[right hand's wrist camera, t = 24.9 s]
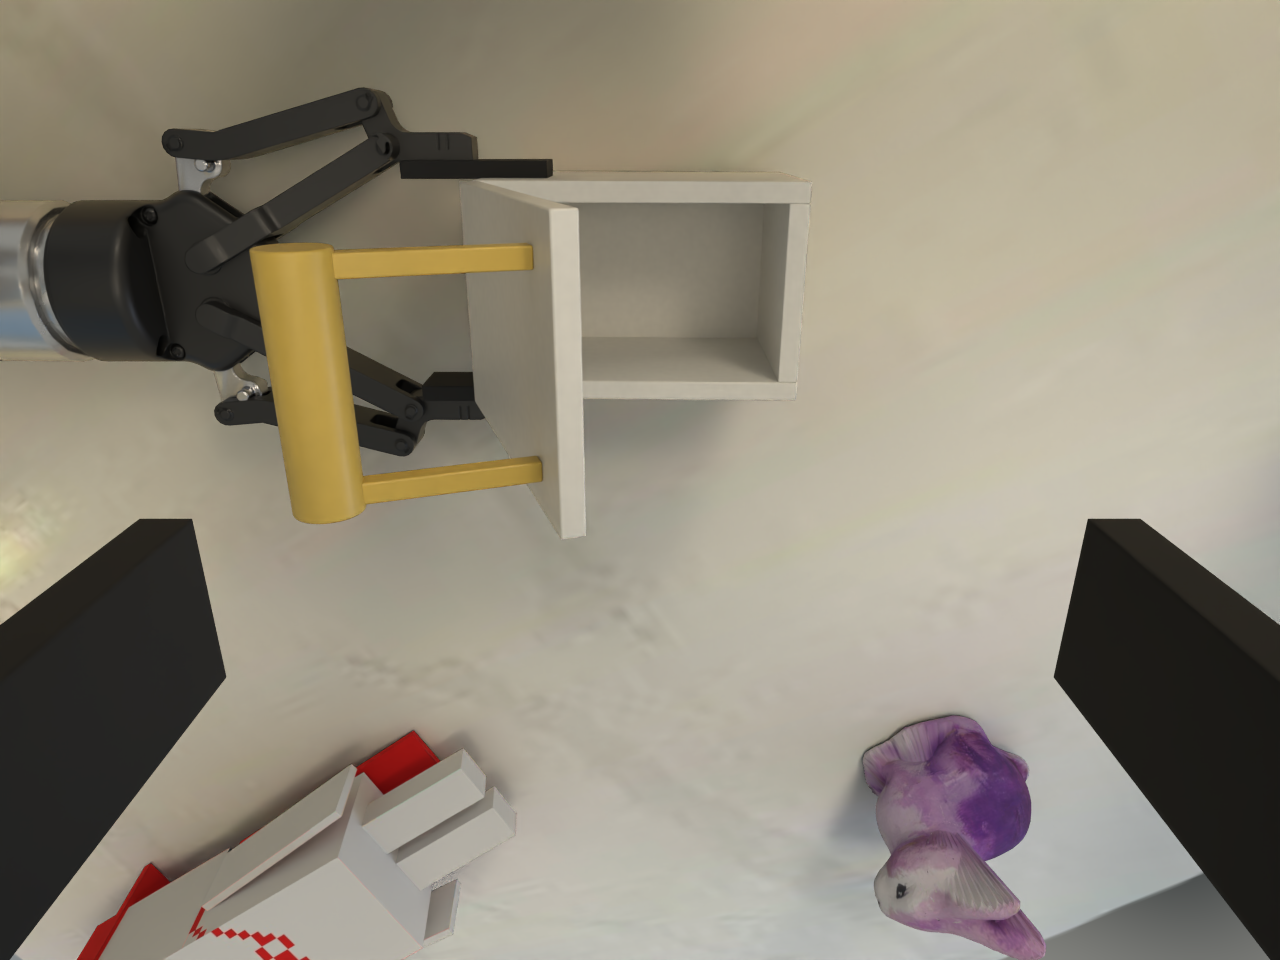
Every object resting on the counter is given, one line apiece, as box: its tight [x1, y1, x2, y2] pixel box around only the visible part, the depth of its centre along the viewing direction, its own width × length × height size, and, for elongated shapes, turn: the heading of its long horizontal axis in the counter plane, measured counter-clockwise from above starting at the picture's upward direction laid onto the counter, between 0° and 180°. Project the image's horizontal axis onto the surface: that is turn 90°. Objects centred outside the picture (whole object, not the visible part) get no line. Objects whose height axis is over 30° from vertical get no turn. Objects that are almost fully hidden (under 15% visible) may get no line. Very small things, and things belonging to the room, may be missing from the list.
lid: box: [249, 181, 586, 540], centre depth 29 cm, size 15×10×8 cm
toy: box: [77, 731, 516, 960], centre depth 58 cm, size 12×13×30 cm
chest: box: [472, 171, 812, 401], centre depth 42 cm, size 14×10×10 cm, turn 90°
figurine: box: [863, 715, 1046, 960], centre depth 53 cm, size 9×10×15 cm
